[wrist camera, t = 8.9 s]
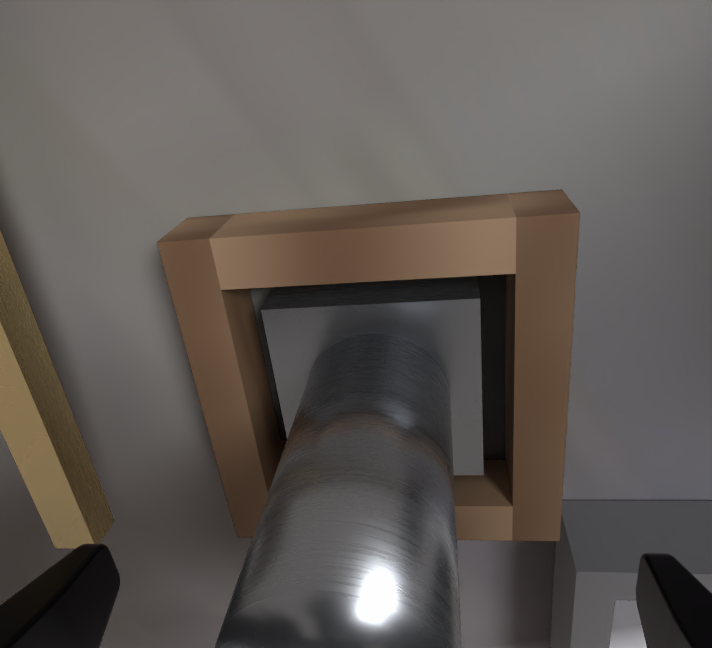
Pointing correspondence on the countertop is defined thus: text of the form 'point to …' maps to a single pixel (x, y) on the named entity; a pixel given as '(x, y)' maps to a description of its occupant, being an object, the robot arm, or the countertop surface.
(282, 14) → the countertop surface
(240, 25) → the countertop surface
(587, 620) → the frame
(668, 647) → the robot arm
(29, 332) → the bar
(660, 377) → the countertop surface
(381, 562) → the grey metal knob
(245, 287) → the walnut socket
